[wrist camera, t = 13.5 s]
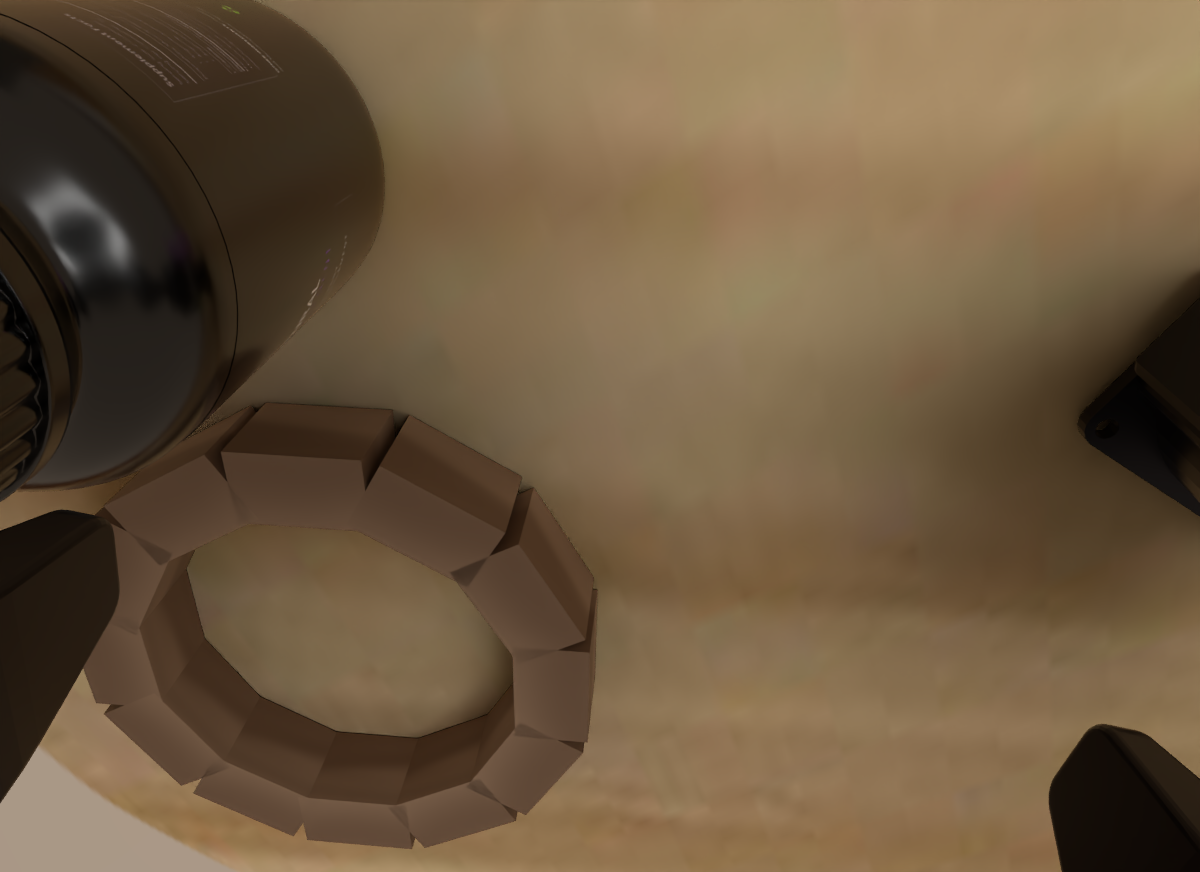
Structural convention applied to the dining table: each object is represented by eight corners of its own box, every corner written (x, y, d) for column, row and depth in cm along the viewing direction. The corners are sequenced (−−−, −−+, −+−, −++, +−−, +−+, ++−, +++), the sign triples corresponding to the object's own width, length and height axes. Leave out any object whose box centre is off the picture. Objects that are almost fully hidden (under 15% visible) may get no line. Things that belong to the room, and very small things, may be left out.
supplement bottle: (379, 334, 21) (76, 715, 10) (98, 265, 20) (-509, 585, 10) (413, 30, 17) (13, 137, 7) (78, -59, 17) (-873, -88, 7)
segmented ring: (691, 570, 23) (693, 633, 21) (462, 832, 30) (446, 901, 28) (211, 306, 21) (156, 346, 18) (72, 657, 27) (19, 718, 25)
